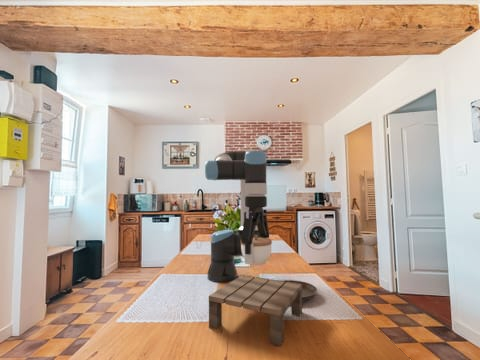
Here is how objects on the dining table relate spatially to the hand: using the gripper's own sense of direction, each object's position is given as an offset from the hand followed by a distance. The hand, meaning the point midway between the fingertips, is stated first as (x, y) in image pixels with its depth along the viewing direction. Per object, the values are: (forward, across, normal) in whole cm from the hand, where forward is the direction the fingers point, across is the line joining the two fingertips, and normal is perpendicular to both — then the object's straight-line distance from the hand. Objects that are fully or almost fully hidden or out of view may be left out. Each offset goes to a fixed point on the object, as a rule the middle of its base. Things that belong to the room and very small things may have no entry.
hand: (256, 259), depth 93 cm
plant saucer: (+21, -26, +4) cm, 34 cm away
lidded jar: (+1, 0, 0) cm, 1 cm away
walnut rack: (+20, 0, 0) cm, 20 cm away
